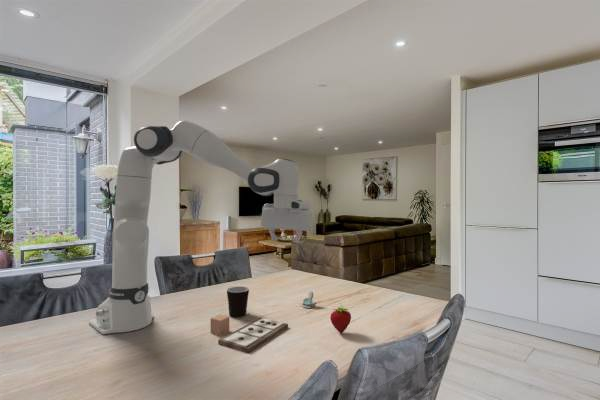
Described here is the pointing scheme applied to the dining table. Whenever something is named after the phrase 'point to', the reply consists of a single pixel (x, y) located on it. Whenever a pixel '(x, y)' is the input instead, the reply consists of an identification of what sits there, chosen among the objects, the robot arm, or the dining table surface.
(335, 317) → the strawberry
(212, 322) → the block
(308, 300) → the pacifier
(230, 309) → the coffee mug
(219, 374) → the dining table surface
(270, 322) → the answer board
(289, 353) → the dining table surface
